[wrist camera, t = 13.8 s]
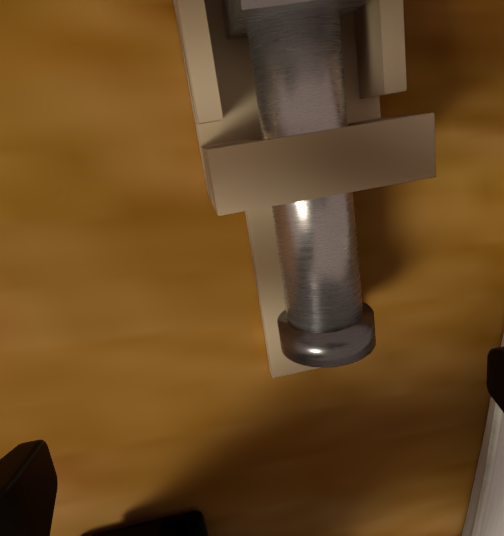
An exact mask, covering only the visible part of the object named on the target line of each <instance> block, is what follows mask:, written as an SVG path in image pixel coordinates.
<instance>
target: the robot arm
mask: <svg viewBox="0 0 504 536" xmlns="http://www.w3.org/2000/svg"><path fill="white" fill-rule="evenodd" d="M487 389H488V391H489V393H490V395H491V397H492V398H493V399H494V401H495V402H496V403H497V405H498V406H499V407H500V409H501V410H502V411H503V413H504V346H503V347H498V348H494V349H491V350H490V351H489V353H488V357H487ZM56 493H57V475H56V471H55V468H54V465H53V462H52V458H51V455H50V452H49V449H48V446H47V444H46V442H45V441H43V440H35V441H30V442H25V443H22V444H19V445H18V446H17V447H15V448H14V449H13V450H12V451H10V452H9V453H8V454H7V455H5V456H4V457H3V458H1V459H0V536H50V530H51V524H52V518H53V512H54V505H55V499H56ZM193 521H197V522H195V523H192V522H193ZM93 536H208V532H207V528H206V524H205V520H204V516H203V514H202V513H201V512H199V511H190V512H186V513H182V514H178V515H174V516H170V517H166V518H162V519H158V520H154V521H150V522H146V523H142V524H138V525H134V526H130V527H126V528H122V529H118V530H114V531H110V532H106V533H102V534H98V535H93Z"/></svg>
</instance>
